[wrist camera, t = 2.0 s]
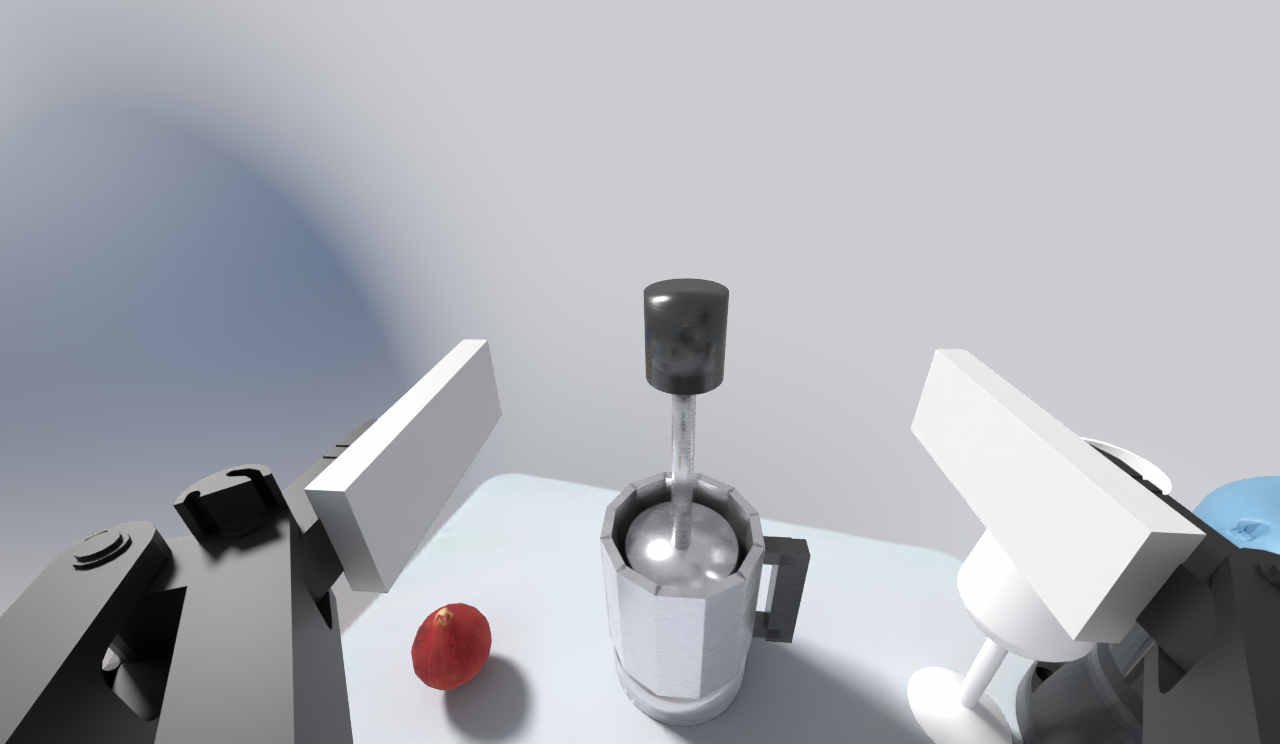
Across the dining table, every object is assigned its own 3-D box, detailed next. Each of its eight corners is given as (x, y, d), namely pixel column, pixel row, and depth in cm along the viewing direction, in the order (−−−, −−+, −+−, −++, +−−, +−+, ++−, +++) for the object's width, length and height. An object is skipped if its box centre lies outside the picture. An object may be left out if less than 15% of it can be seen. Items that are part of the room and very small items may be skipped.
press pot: (773, 599, 42) (794, 477, 35) (798, 737, 33) (834, 607, 26) (623, 589, 44) (614, 470, 37) (605, 719, 34) (588, 591, 27)
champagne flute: (999, 795, 30) (1205, 540, 18) (893, 711, 34) (1005, 464, 23) (1023, 714, 34) (1203, 464, 22) (924, 649, 38) (1033, 411, 27)
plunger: (732, 510, 36) (754, 269, 26) (743, 604, 29) (778, 320, 19) (632, 506, 36) (619, 270, 27) (619, 596, 29) (596, 318, 20)
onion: (415, 716, 35) (385, 656, 31) (436, 642, 40) (412, 582, 36) (492, 704, 35) (471, 644, 32) (503, 633, 40) (486, 573, 37)
